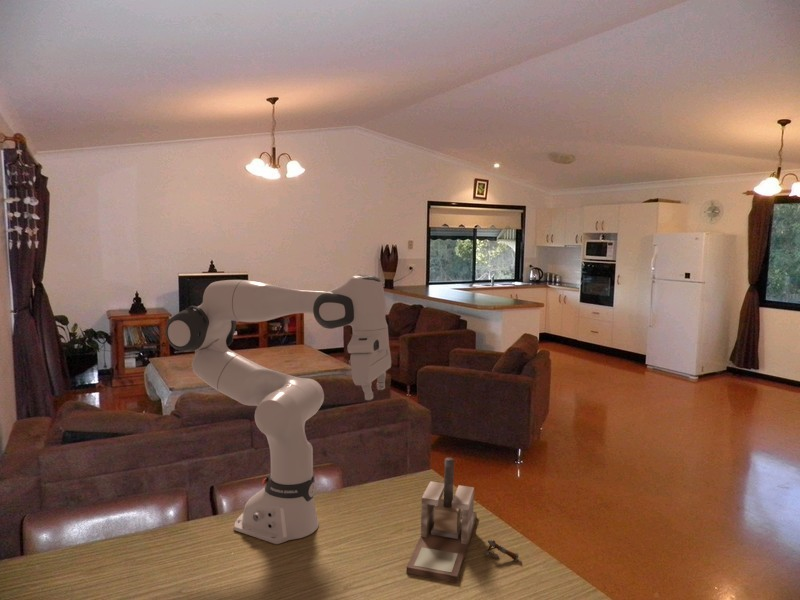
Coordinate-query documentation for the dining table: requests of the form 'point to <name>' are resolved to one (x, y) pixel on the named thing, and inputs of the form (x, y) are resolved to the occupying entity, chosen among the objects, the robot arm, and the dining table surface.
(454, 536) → the rod on wooden block
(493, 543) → the toy flintlock pistol
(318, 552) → the dining table surface
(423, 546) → the tunnel track
